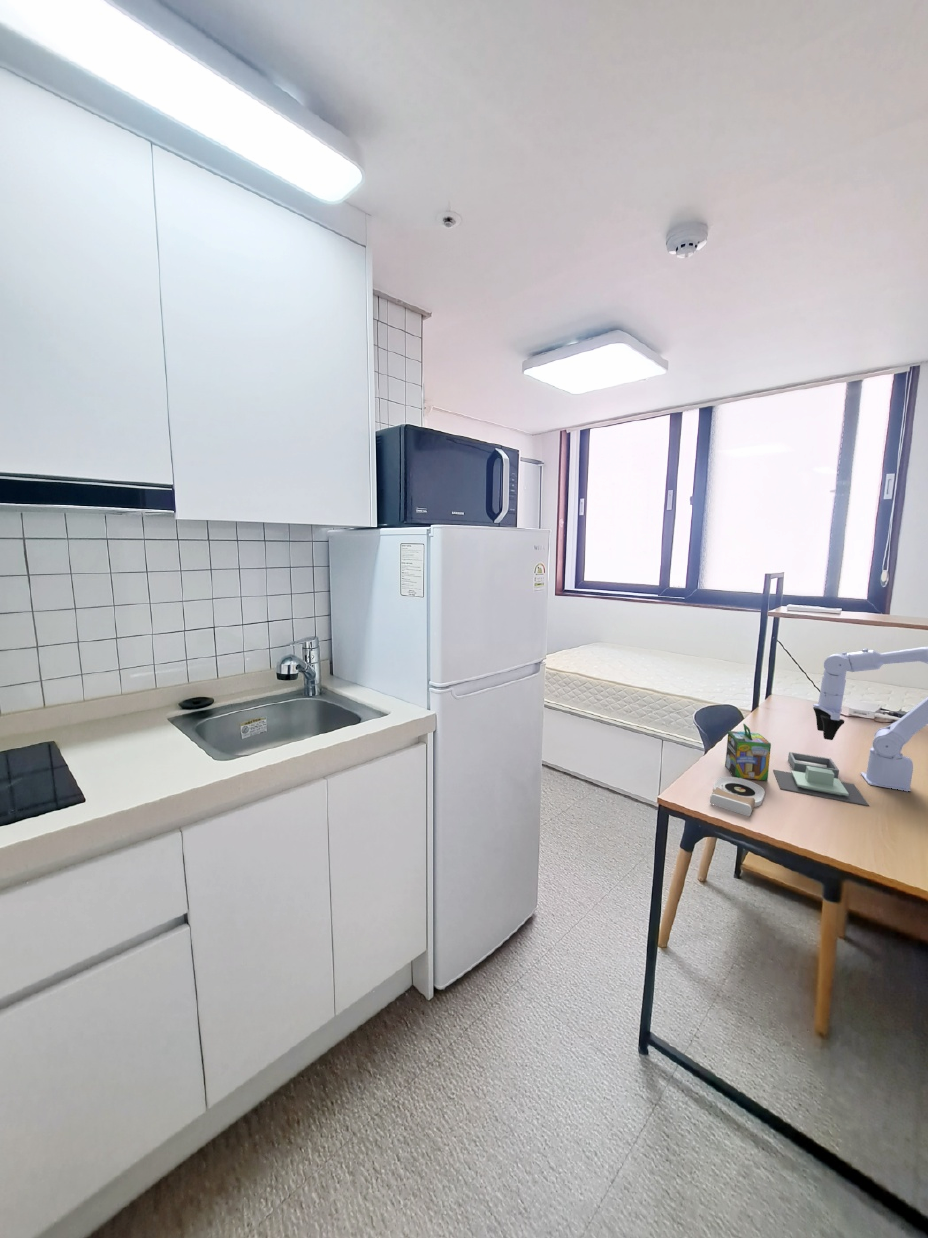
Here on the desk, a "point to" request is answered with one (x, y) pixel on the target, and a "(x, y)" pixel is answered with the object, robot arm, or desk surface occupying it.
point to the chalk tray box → (811, 763)
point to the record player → (737, 795)
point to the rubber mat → (789, 784)
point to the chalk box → (748, 755)
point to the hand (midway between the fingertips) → (824, 734)
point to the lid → (819, 781)
